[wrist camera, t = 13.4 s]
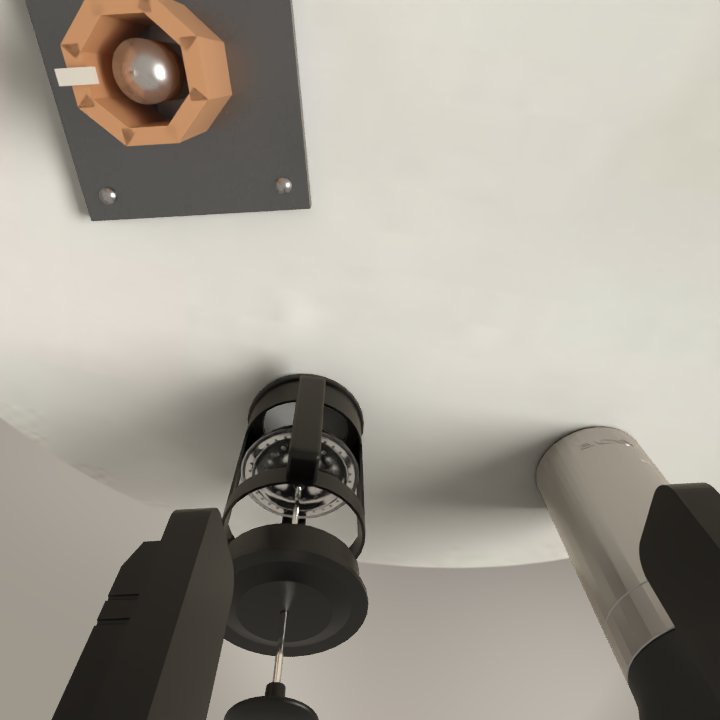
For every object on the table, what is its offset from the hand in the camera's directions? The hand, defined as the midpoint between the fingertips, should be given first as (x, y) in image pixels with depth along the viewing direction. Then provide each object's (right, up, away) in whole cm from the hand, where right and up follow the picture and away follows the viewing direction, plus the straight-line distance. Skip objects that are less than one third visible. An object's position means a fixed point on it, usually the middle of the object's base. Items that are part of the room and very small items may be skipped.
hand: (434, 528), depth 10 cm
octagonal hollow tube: (-12, +19, +20) cm, 30 cm away
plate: (-12, +20, +21) cm, 31 cm away
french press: (-6, -1, +33) cm, 34 cm away
